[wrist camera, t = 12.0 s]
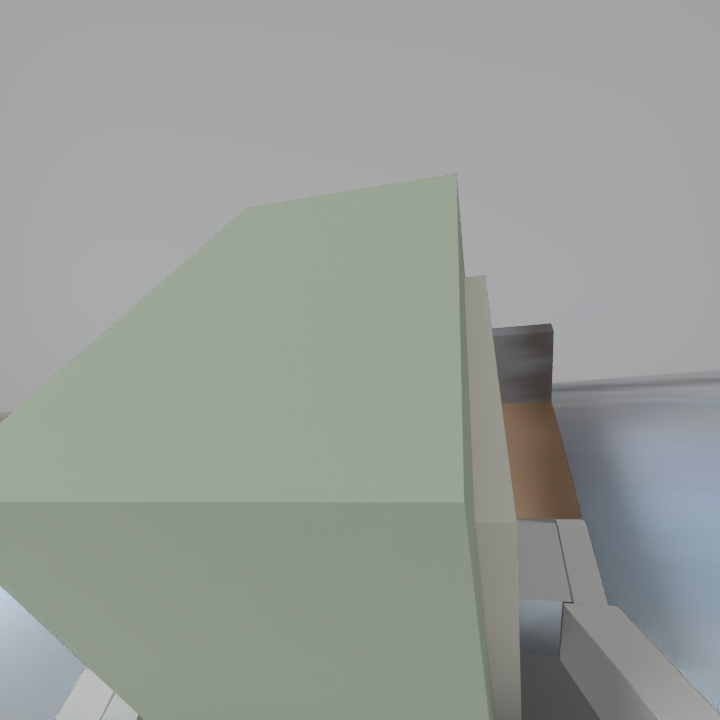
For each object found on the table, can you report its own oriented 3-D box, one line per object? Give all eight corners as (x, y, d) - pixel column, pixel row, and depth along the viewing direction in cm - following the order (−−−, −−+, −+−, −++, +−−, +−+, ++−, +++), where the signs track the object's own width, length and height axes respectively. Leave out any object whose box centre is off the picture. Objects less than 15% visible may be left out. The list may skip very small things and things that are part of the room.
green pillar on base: (228, 943, 11) (-490, 618, 3) (317, 580, 18) (159, 210, 11) (657, 1049, 9) (1543, 842, 1) (566, 591, 16) (599, 136, 8)
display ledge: (336, 646, 27) (288, 539, 22) (375, 437, 41) (351, 340, 35) (602, 666, 24) (624, 546, 18) (547, 432, 38) (551, 323, 32)
